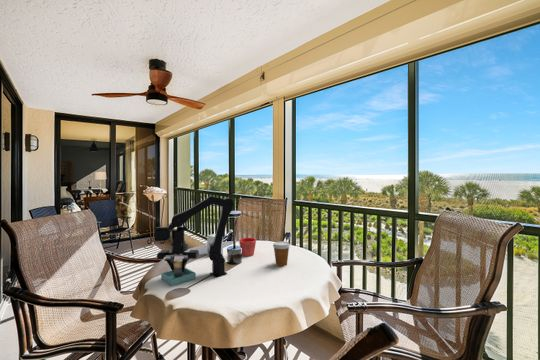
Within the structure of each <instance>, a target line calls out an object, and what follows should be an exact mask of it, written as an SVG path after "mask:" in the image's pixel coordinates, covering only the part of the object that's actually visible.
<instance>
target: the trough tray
mask: <svg viewBox="0 0 540 360" xmlns="http://www.w3.org/2000/svg"><path fill="white" fill-rule="evenodd" d="M160 276H161V277H160V279H161V280H162V282H164V283H166V284H168V285H169V286H171V287H174V286H178V285H181V284H184V283H188V282H190V281H193V280H196V279H197V277H196V276H197V274H196V272H195V271H193V270H191V269H189V268H187V267H185V270H184V272H183V276H181V277H174V272H173V271H172V270H167V271H164V272H161V273H160Z"/></svg>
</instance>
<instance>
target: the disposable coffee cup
mask: <svg viewBox="0 0 540 360" xmlns="http://www.w3.org/2000/svg"><path fill="white" fill-rule="evenodd" d="M272 246H273V250H274V251H273V252H274V261H275V265H276V266H277V265H279V266H278V267H285V266H284V265H286V266H287V265H288V260H289V258H288V257H289V251H290V243H289V242H287V241H281V240H280V241H275V242H273V245H272Z"/></svg>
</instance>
